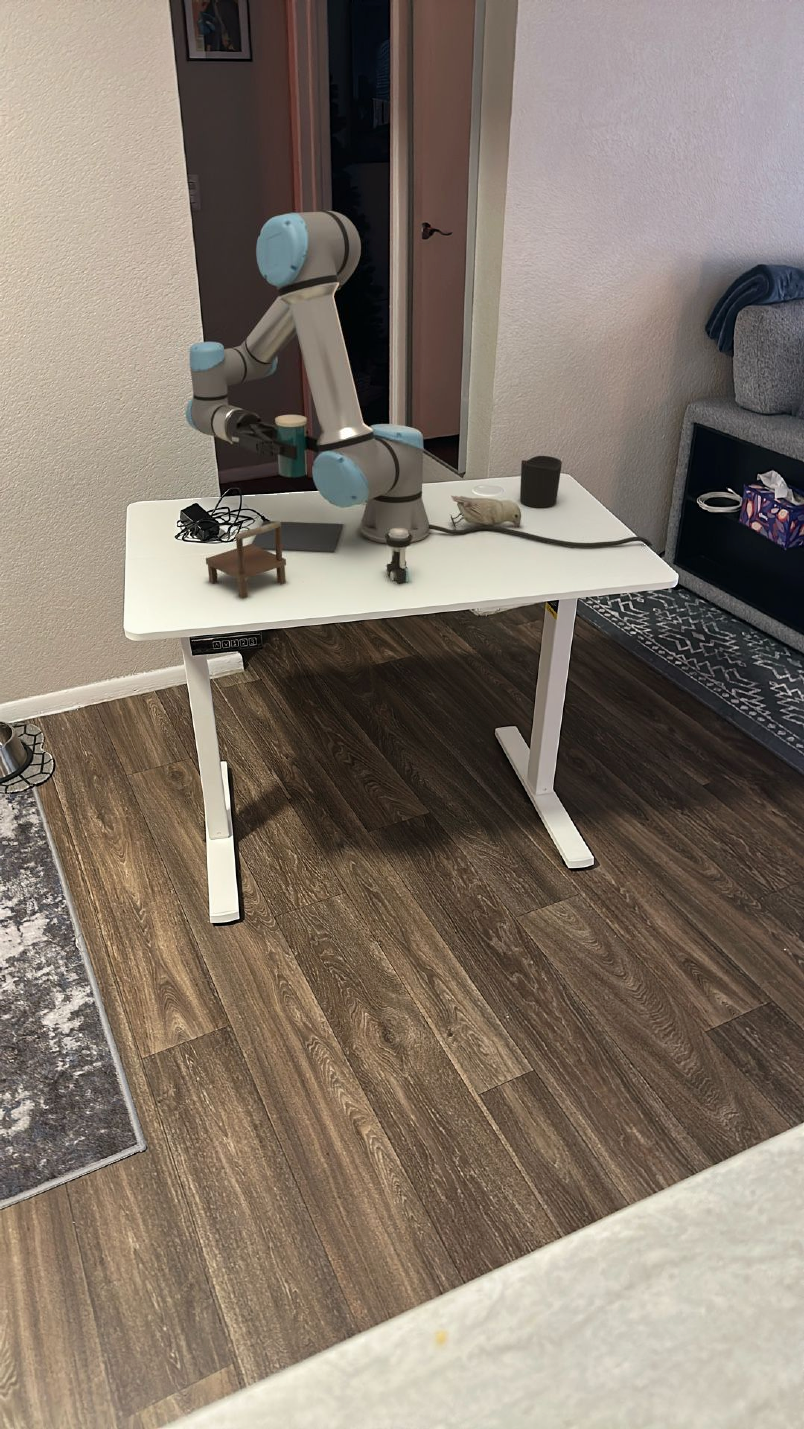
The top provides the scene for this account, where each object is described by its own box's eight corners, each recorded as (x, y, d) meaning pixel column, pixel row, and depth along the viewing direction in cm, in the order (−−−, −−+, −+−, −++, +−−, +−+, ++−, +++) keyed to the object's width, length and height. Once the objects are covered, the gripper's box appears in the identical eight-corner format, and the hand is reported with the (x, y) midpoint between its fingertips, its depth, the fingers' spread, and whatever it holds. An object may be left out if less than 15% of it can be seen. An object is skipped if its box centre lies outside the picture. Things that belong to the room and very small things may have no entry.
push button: (376, 574, 191) (376, 527, 186) (398, 569, 193) (399, 522, 188) (394, 586, 186) (394, 538, 181) (416, 580, 189) (417, 532, 183)
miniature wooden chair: (207, 582, 187) (201, 520, 180) (252, 566, 193) (248, 507, 187) (242, 599, 180) (237, 536, 174) (287, 582, 187) (283, 521, 180)
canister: (310, 468, 202) (308, 415, 196) (306, 478, 197) (304, 423, 191) (280, 467, 203) (278, 414, 197) (275, 477, 197) (272, 422, 191)
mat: (342, 525, 214) (342, 523, 214) (334, 552, 201) (333, 550, 200) (263, 522, 215) (263, 521, 215) (249, 549, 201) (249, 547, 201)
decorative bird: (522, 531, 213) (524, 498, 209) (450, 532, 212) (452, 500, 208) (517, 522, 217) (520, 490, 213) (448, 523, 216) (449, 491, 212)
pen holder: (559, 509, 225) (564, 467, 220) (520, 508, 225) (523, 467, 220) (554, 496, 233) (559, 455, 228) (516, 495, 233) (519, 455, 228)
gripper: (273, 435, 215) (343, 458, 201) (204, 452, 203) (273, 477, 190) (271, 401, 211) (342, 422, 197) (201, 416, 199) (270, 440, 186)
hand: (308, 449), depth 194 cm, fingers closed on canister, 6 cm apart
